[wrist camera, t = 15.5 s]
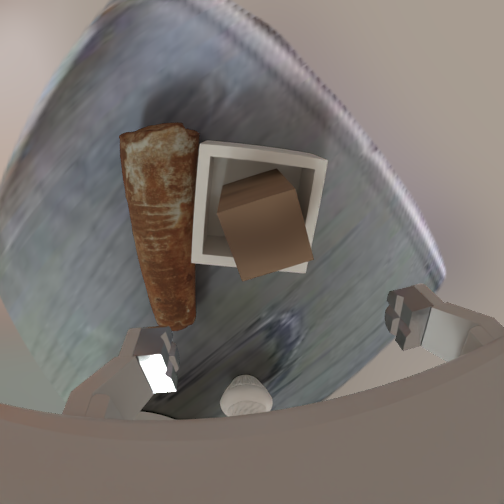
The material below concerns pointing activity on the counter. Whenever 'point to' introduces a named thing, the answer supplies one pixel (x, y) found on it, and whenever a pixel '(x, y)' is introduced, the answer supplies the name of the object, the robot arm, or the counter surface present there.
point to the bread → (163, 215)
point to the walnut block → (263, 224)
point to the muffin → (245, 397)
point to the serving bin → (239, 167)
